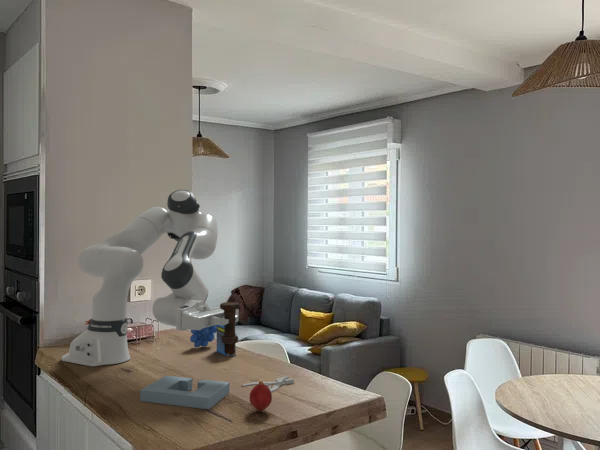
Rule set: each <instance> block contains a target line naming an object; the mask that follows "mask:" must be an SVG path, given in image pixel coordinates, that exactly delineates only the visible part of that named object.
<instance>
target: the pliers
mask: <svg viewBox="0 0 600 450" xmlns="http://www.w3.org/2000/svg"><path fill="white" fill-rule="evenodd" d="M259 382H260V381H255V382H254V381H253V382H248V383H244V384H241V387H242V388H243V387H248V386H249V387H250V386H256V385H258V384H259ZM263 383H264V384H265V385H266V386H267V387H268V388H269V389H270V391H271V393H273V392H275V391H277V390H278V389H279V388H280V387H281V386H287V385H290V384H295V378H289V376H288V375H286V376H283V377H278V378H276V379H275V381H263ZM272 385H273V387H272Z"/></svg>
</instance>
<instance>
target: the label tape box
mask: <svg viewBox="0 0 600 450" xmlns="http://www.w3.org/2000/svg"><path fill="white" fill-rule="evenodd" d="M216 326H217V331H216V352H217V353H220V354H222V355H224V356H226V357H233V356H236V355H237V353H236V351H237V349H236V348H237V346H236V344H237V343H235V353H234V354H233V355H229V354H228V355H226V353H225V352H224V349H225V346H224V343H222V341H221V337H222V336H223V335H224V333H225V329H224V325H216ZM235 335H237V334H236V332H235Z"/></svg>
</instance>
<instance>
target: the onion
mask: <svg viewBox="0 0 600 450" xmlns="http://www.w3.org/2000/svg"><path fill="white" fill-rule="evenodd" d="M258 382H259V384H258V385H254V386H253V388H252V389H251V390H250V393H249V403H250V405H251V406H252V407H253V408H254V409H256V411H258V412H263V411H264V410H266V409H267V408H268V407H269V406H270V405H271V403H272V401H273V400H272V399H273V396H272V392H271V391H270V389H269V386H266V385H265V384H264V383H263V382H264V381H263V380H260V381H258Z"/></svg>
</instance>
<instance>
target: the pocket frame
mask: <svg viewBox="0 0 600 450" xmlns="http://www.w3.org/2000/svg"><path fill="white" fill-rule="evenodd" d="M193 380H194V379H193V377H192V378H191V377H181V376H173V375H164V376H163V377H161V378H159V379H158V380H156V381H153V382H152V383H150V384H148V385H146V386H145V387H142V388H141V389H140V393H139V394H140V396H139V398H140V399H139V401H140V402H146V403H153V404H161V405H170V406H178V407H187V408H194V409H201V410H211V409H212V408H213V407H214V406H215V405H216V404H218V403H219V402H220V401H222V398H223V399H224V398H226V396H228V395H229V394H230V390H231V389H230V387H231V386H230V382H229V381H228V382H227V381H221V380H210V379H209V380H208V379H201V380H198V382H197V387H196V388H197V389H195V390H193ZM191 390H193V391H191ZM227 394H228V395H227Z"/></svg>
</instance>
